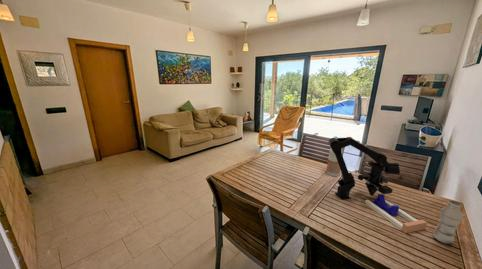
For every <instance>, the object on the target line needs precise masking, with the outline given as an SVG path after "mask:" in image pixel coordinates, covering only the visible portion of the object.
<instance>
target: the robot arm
mask: <svg viewBox="0 0 482 269" xmlns="http://www.w3.org/2000/svg"><path fill="white" fill-rule="evenodd" d="M328 145H329V147H330V148H331V149H332V151H333V152H334V154H335V156H336V159H337V162H338V164H339V167H340V173H341V179H339V180H337V183H338V185H339V186H337V191H336V192H335V193H334V195H335V196H336V197H337V198H339V199H340V200H341V201H342V200H348V199H351V196H350V192H351V191H352V189H353V188H355V186H356V180H355V176H354V175H353V173H352V172H349V170H348V167H347V165H346V161H345V158H344V157H343V153H342V151H343V148H344V149H345V148H346V147H349V146H351V147H352V148H355V149H356V150H358V151H360V152H361V153H364V154H365V155H367V156H369V157H370V158H371V159H372V160H370V161H368V162H367V164H368V165H369V166H370V171H369V172H368V173H367V174H366V173H361V174H358V176H357V179H358V180H360V181H364V180H365V183H364V185H365V186H366V188H367V191H368V192H369V195H370V196H371V197H373V196H374V195H375V194H376V193H377V191H378V192H379V193H380V194H383V195H387V194H393V188H392V187H390V186H389V185H386V184H388V183H389V181H390V178H388V177H387V176H384V174H385V175H393V176H394V175H395V176H398V175H400V172H401V170H400V164H399V163H398V162H388V157H387V156H386V155H385V154H384V153H383V152H381V151H379V150H376V149H373V148H370V147H369V146H367V145H365V144H363V143H362V142H360V141H358V140H356V139H355V138H353V137H351V136H346V137H337V138H336V137H332V138H330V139H329V140H328ZM383 173H384V174H383ZM384 184H385V185H384Z"/></svg>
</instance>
